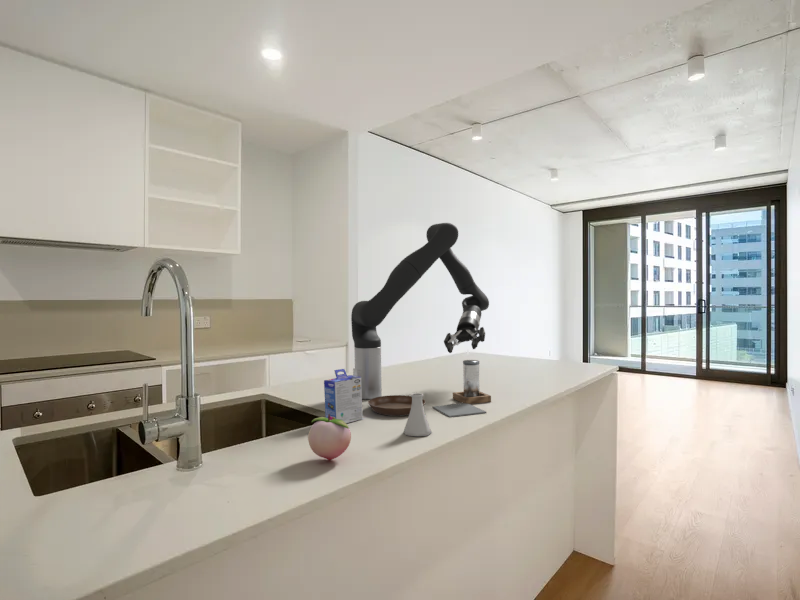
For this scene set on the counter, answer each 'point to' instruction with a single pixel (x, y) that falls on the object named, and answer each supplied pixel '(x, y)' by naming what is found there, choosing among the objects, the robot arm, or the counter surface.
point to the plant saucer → (392, 405)
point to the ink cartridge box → (343, 397)
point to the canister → (471, 378)
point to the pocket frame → (472, 398)
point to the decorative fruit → (329, 437)
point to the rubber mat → (458, 409)
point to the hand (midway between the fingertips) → (461, 348)
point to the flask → (417, 418)
